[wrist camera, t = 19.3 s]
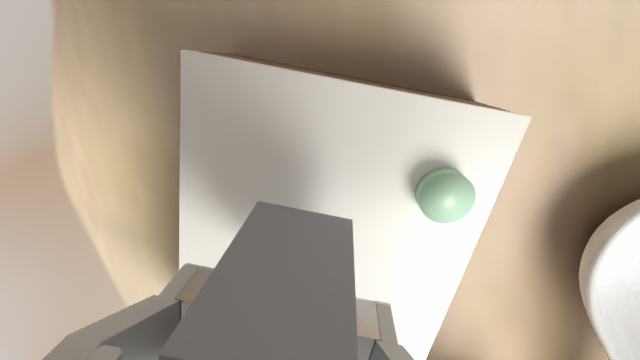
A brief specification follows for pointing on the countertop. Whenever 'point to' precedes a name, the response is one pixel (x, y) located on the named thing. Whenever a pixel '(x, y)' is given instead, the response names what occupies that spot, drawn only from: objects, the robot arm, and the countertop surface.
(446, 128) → the plate
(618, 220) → the spoon rest
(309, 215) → the block
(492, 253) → the countertop surface
